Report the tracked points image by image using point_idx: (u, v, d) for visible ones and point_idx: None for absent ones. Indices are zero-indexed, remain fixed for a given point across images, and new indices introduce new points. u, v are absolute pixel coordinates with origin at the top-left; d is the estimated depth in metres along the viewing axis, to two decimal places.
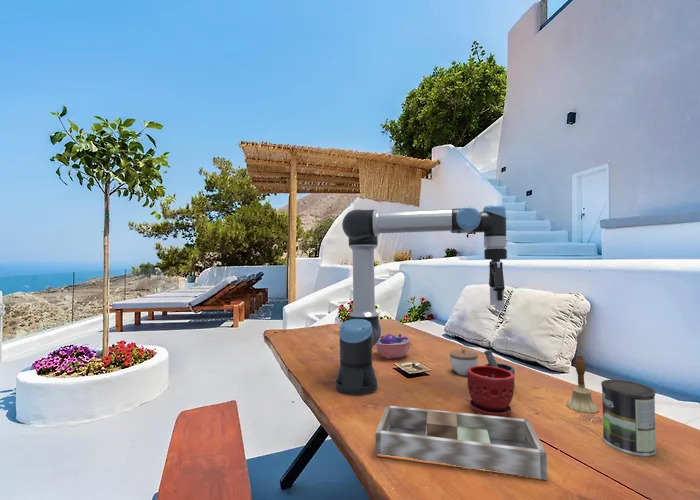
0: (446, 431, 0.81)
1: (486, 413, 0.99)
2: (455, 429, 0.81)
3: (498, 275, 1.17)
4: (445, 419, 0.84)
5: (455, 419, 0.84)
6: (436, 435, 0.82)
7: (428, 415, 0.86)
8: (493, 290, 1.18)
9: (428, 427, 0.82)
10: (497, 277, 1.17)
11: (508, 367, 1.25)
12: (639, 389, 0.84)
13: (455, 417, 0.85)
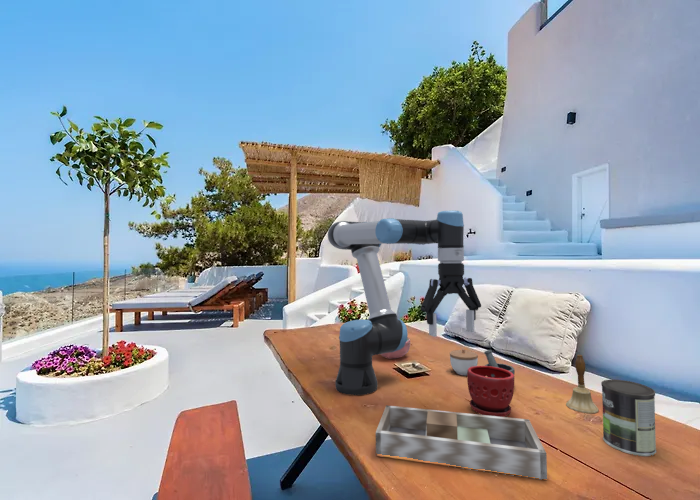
0: (446, 431, 0.81)
1: (486, 413, 0.99)
2: (455, 429, 0.81)
3: (427, 294, 1.01)
4: (445, 419, 0.84)
5: (455, 419, 0.84)
6: (436, 435, 0.82)
7: (428, 415, 0.86)
8: None
9: (428, 427, 0.82)
10: (426, 297, 1.01)
11: (508, 367, 1.25)
12: (639, 389, 0.84)
13: (455, 417, 0.85)
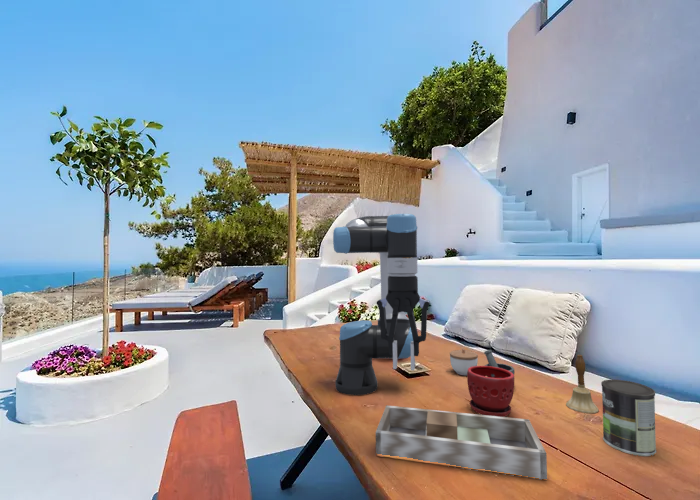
0: (446, 431, 0.81)
1: (486, 413, 0.99)
2: (455, 429, 0.81)
3: None
4: (445, 419, 0.84)
5: (455, 419, 0.84)
6: (436, 435, 0.82)
7: (428, 415, 0.86)
8: None
9: (428, 427, 0.82)
10: None
11: (508, 367, 1.25)
12: (639, 389, 0.84)
13: (455, 417, 0.85)
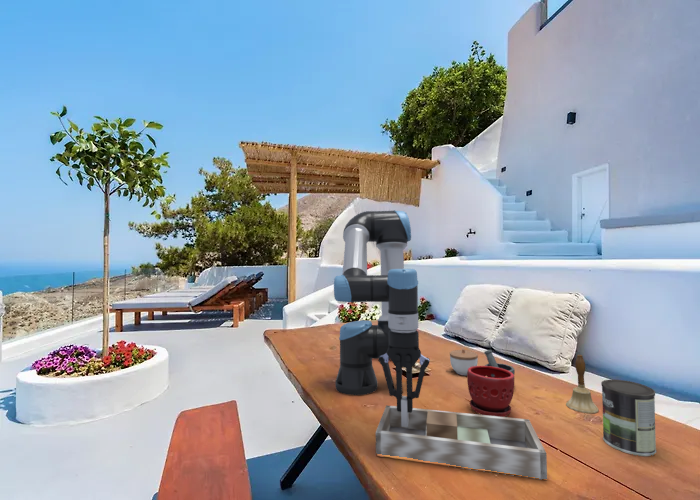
0: (446, 431, 0.81)
1: (486, 413, 0.99)
2: (455, 429, 0.81)
3: None
4: (445, 419, 0.84)
5: (455, 419, 0.84)
6: (436, 435, 0.82)
7: (428, 415, 0.86)
8: (401, 393, 0.89)
9: (428, 427, 0.82)
10: None
11: (508, 367, 1.25)
12: (639, 389, 0.84)
13: (455, 417, 0.85)
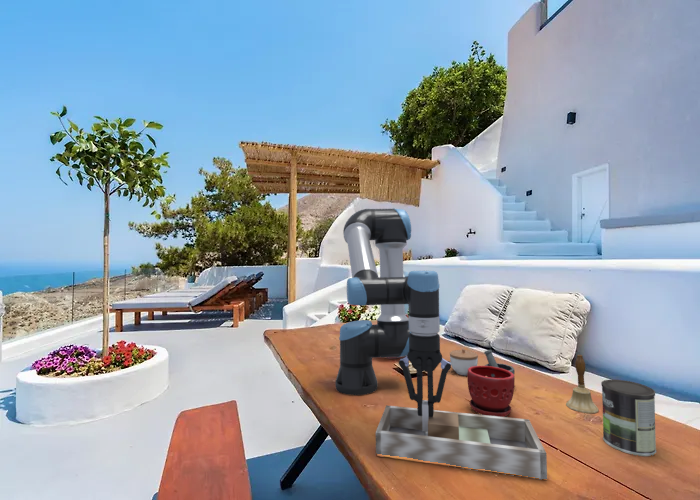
0: (448, 431, 0.81)
1: (486, 413, 0.99)
2: (456, 429, 0.80)
3: None
4: (447, 420, 0.84)
5: (457, 419, 0.84)
6: (437, 435, 0.82)
7: None
8: None
9: (429, 427, 0.82)
10: None
11: (508, 367, 1.25)
12: (639, 389, 0.84)
13: (457, 417, 0.85)
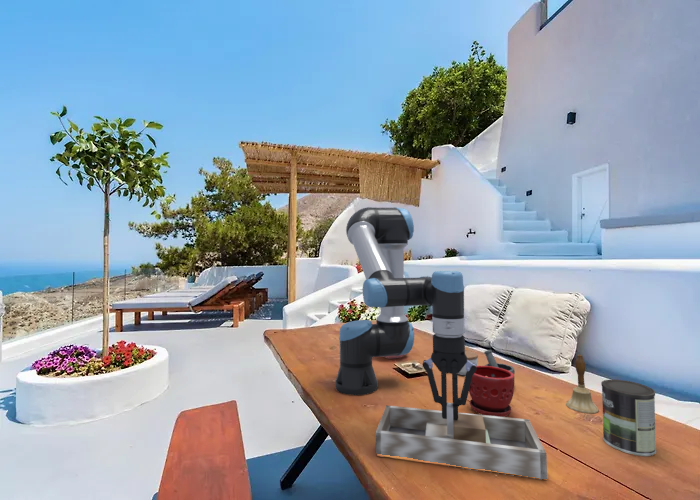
0: (474, 434, 0.79)
1: (486, 413, 0.99)
2: (483, 432, 0.79)
3: None
4: (472, 422, 0.82)
5: (482, 422, 0.82)
6: (463, 438, 0.80)
7: None
8: None
9: (455, 430, 0.81)
10: None
11: (508, 367, 1.25)
12: (639, 389, 0.84)
13: (482, 420, 0.83)
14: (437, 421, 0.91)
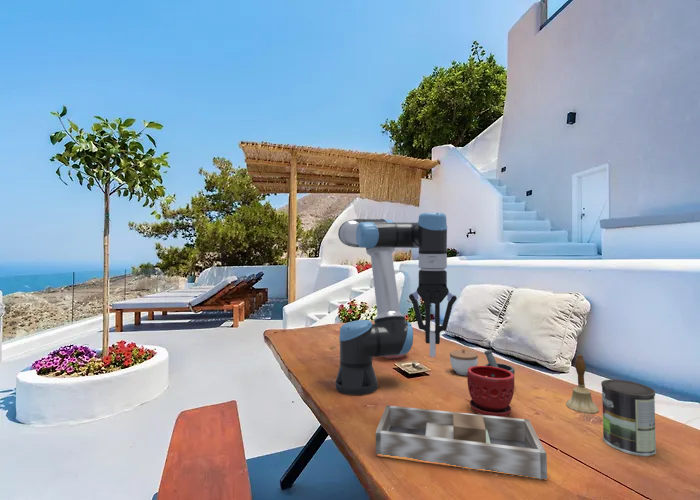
0: (474, 434, 0.79)
1: (486, 413, 0.99)
2: (483, 432, 0.79)
3: None
4: (472, 422, 0.82)
5: (482, 422, 0.82)
6: (464, 438, 0.80)
7: (454, 418, 0.85)
8: None
9: (455, 430, 0.81)
10: None
11: (508, 367, 1.25)
12: (639, 389, 0.84)
13: (482, 420, 0.83)
14: (437, 421, 0.91)
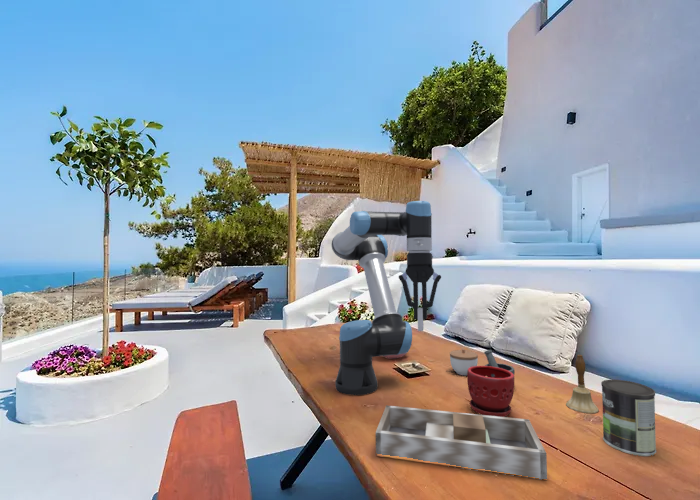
0: (474, 434, 0.79)
1: (486, 413, 0.99)
2: (483, 432, 0.79)
3: None
4: (472, 422, 0.82)
5: (482, 422, 0.82)
6: (464, 438, 0.80)
7: (454, 418, 0.85)
8: None
9: (455, 430, 0.81)
10: None
11: (508, 367, 1.25)
12: (639, 389, 0.84)
13: (482, 420, 0.83)
14: (437, 421, 0.91)
